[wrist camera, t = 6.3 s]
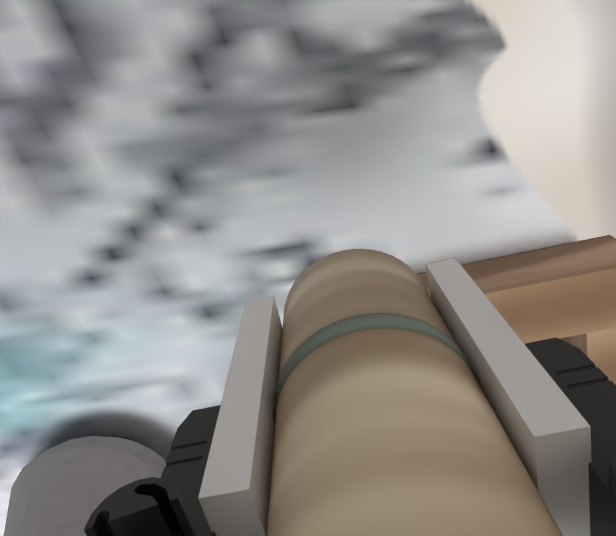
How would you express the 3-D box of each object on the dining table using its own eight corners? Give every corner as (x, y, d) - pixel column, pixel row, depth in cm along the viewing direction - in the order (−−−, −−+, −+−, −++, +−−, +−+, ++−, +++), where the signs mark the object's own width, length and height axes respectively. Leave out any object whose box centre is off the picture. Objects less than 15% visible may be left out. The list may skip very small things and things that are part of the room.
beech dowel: (265, 265, 13) (138, 945, 3) (420, 232, 13) (868, 855, 3) (300, 393, 15) (296, 1139, 4) (440, 365, 14) (780, 1097, 4)
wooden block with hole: (393, 279, 29) (413, 328, 23) (609, 234, 28) (684, 275, 22) (435, 513, 35) (458, 596, 29) (612, 484, 34) (671, 564, 28)
